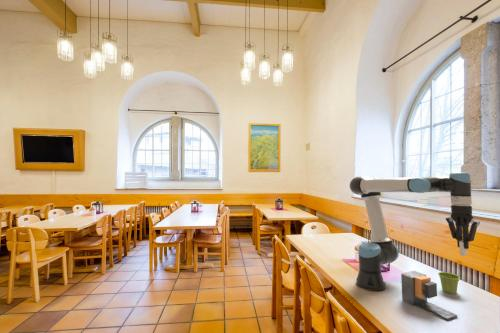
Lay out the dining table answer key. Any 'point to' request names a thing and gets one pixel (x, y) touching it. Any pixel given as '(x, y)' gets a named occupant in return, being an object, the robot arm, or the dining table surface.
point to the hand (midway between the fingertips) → (463, 255)
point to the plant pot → (449, 282)
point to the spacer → (420, 285)
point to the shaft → (430, 289)
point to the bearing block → (410, 298)
